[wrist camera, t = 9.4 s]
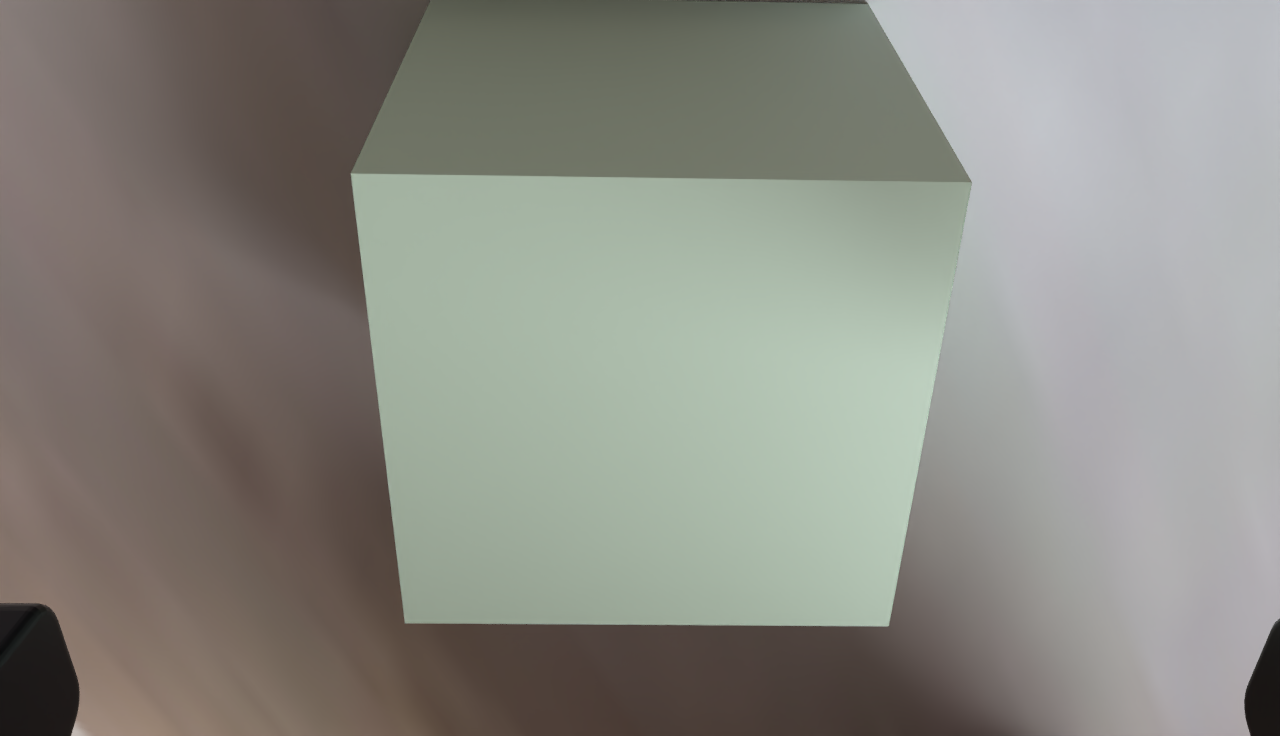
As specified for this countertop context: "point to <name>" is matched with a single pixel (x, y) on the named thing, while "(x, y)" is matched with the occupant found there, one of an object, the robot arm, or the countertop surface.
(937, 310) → the sage block
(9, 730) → the robot arm
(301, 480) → the countertop surface
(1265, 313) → the countertop surface
